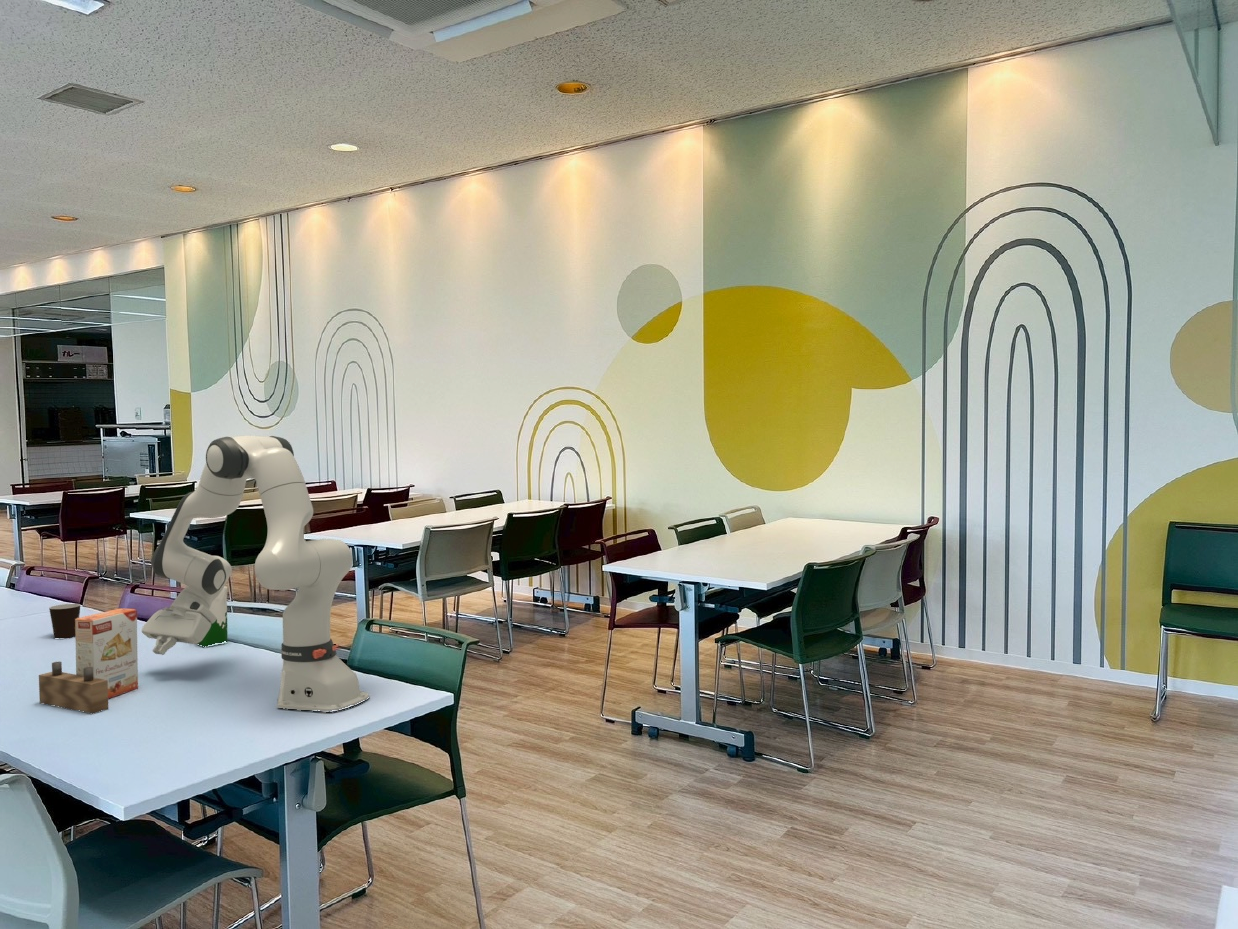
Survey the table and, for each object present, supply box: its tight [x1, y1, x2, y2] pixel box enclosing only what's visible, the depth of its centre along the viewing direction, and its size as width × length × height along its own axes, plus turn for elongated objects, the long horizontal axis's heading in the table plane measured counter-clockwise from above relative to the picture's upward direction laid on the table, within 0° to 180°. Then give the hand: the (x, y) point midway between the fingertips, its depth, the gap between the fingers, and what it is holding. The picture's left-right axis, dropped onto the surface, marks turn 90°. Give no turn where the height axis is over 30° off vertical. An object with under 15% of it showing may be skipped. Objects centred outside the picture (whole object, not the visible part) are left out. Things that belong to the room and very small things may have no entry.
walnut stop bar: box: [38, 661, 109, 715], centre depth 216 cm, size 20×4×10 cm, turn 64°
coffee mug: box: [49, 603, 81, 639], centre depth 291 cm, size 12×9×10 cm
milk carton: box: [198, 585, 229, 648], centre depth 278 cm, size 9×9×20 cm
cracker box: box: [75, 607, 139, 699], centre depth 224 cm, size 14×6×21 cm, turn 165°
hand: (157, 653), depth 236 cm, fingers closed
